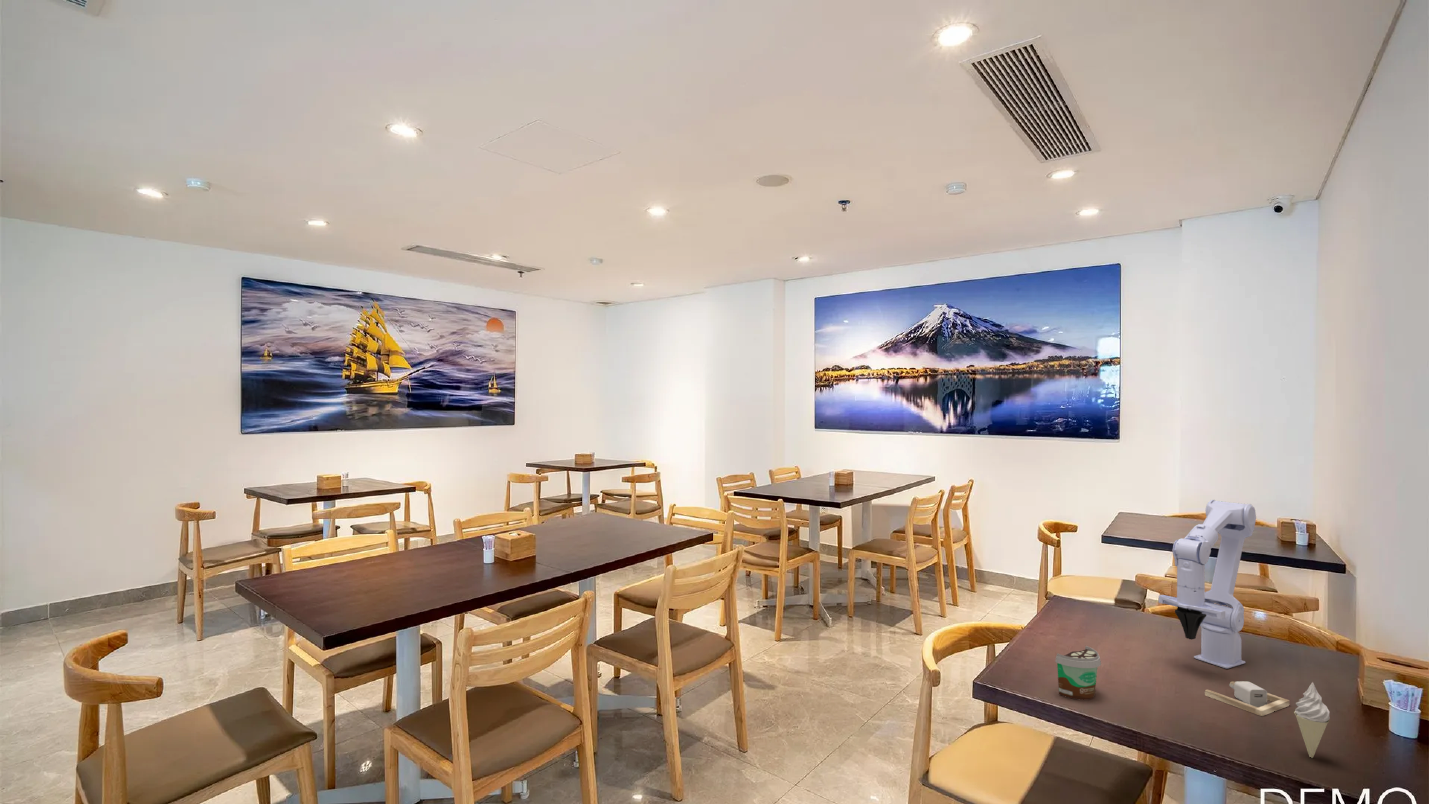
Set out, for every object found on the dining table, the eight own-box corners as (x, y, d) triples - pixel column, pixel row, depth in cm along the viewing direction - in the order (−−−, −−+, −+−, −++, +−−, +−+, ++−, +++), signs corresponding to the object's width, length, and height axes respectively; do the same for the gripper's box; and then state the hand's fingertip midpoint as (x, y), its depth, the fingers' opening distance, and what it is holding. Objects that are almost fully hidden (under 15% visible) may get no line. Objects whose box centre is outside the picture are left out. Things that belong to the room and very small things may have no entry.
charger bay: (1232, 686, 155) (1232, 681, 155) (1289, 705, 145) (1289, 700, 145) (1204, 695, 150) (1204, 690, 150) (1261, 716, 140) (1261, 711, 140)
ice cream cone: (1332, 767, 120) (1333, 689, 120) (1297, 759, 123) (1297, 682, 123) (1324, 755, 124) (1325, 679, 124) (1290, 747, 127) (1291, 673, 127)
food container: (1080, 706, 143) (1080, 663, 143) (1055, 695, 149) (1055, 653, 149) (1112, 696, 149) (1112, 654, 149) (1086, 685, 154) (1086, 645, 155)
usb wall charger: (1249, 706, 144) (1249, 689, 145) (1225, 693, 151) (1225, 676, 151) (1267, 707, 144) (1267, 689, 144) (1241, 693, 151) (1242, 676, 151)
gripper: (1151, 580, 167) (1151, 631, 167) (1214, 595, 154) (1214, 650, 154) (1167, 577, 170) (1166, 627, 170) (1229, 592, 157) (1229, 646, 157)
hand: (1190, 638), depth 162 cm, fingers closed
